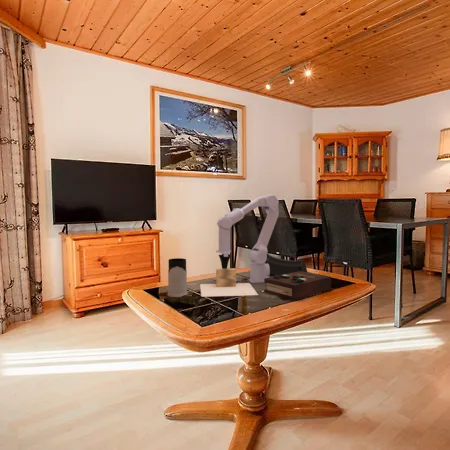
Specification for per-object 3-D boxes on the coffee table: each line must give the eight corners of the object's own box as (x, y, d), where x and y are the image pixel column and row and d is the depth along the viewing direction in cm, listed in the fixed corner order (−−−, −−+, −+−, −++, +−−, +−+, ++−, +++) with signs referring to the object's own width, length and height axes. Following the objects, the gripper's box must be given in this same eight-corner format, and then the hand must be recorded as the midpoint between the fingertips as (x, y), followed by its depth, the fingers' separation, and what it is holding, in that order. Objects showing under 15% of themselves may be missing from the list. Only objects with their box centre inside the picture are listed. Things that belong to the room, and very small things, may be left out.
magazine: (313, 263, 167) (269, 241, 187) (309, 264, 164) (265, 242, 185) (304, 293, 171) (262, 269, 192) (300, 294, 169) (258, 270, 190)
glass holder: (166, 297, 137) (166, 261, 137) (169, 288, 152) (168, 256, 151) (187, 296, 138) (187, 261, 137) (188, 288, 152) (188, 256, 152)
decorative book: (336, 274, 148) (293, 284, 129) (336, 291, 149) (293, 303, 129) (301, 268, 163) (258, 276, 144) (301, 283, 163) (258, 294, 144)
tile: (235, 285, 157) (235, 268, 157) (235, 286, 154) (235, 269, 154) (216, 285, 156) (216, 268, 156) (216, 287, 153) (216, 269, 153)
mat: (249, 283, 161) (249, 283, 161) (258, 295, 139) (258, 295, 139) (200, 285, 159) (200, 284, 159) (201, 297, 137) (201, 296, 137)
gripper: (215, 240, 167) (215, 266, 168) (217, 243, 153) (217, 272, 154) (229, 240, 168) (229, 266, 169) (232, 243, 154) (232, 272, 154)
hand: (224, 269), depth 161 cm, fingers closed
